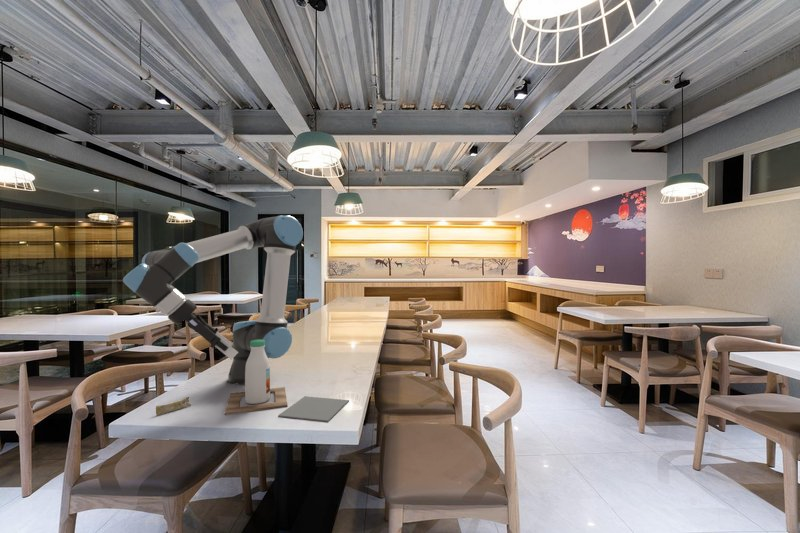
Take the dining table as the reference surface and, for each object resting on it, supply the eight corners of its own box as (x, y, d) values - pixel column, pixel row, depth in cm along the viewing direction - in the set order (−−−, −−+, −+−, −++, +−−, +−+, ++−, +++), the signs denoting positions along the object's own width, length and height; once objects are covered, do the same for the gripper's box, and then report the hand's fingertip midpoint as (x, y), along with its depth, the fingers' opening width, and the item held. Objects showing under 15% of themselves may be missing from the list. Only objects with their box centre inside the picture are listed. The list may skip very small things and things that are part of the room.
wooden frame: (230, 394, 123) (230, 392, 123) (284, 388, 130) (284, 386, 130) (224, 414, 106) (224, 412, 107) (287, 406, 113) (287, 403, 113)
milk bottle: (261, 405, 114) (261, 343, 114) (239, 404, 115) (239, 342, 115) (274, 397, 121) (274, 338, 121) (254, 395, 123) (254, 337, 123)
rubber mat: (304, 397, 121) (304, 396, 121) (348, 401, 117) (348, 400, 117) (278, 416, 105) (278, 415, 105) (328, 421, 101) (328, 420, 101)
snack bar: (156, 416, 106) (156, 406, 106) (154, 415, 107) (154, 405, 107) (191, 406, 113) (190, 397, 113) (188, 405, 114) (188, 396, 114)
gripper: (167, 312, 115) (219, 352, 123) (164, 322, 94) (227, 370, 102) (187, 295, 118) (236, 335, 126) (187, 301, 97) (247, 349, 104)
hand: (232, 351), depth 114 cm, fingers open, 13 cm apart
